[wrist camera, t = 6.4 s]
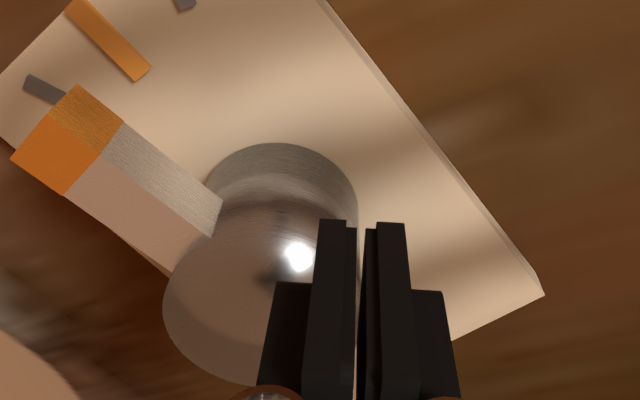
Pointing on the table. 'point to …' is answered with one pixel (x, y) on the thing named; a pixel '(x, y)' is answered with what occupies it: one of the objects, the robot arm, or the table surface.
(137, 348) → the table surface
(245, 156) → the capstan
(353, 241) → the robot arm
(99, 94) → the stand
